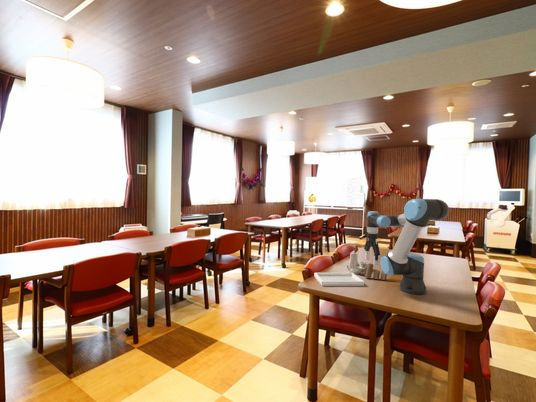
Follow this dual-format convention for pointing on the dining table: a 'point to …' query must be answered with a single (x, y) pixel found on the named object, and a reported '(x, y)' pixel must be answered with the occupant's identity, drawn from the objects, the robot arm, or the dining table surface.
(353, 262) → the chinaware
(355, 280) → the pocket tray
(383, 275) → the wooden block set
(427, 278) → the dining table surface
